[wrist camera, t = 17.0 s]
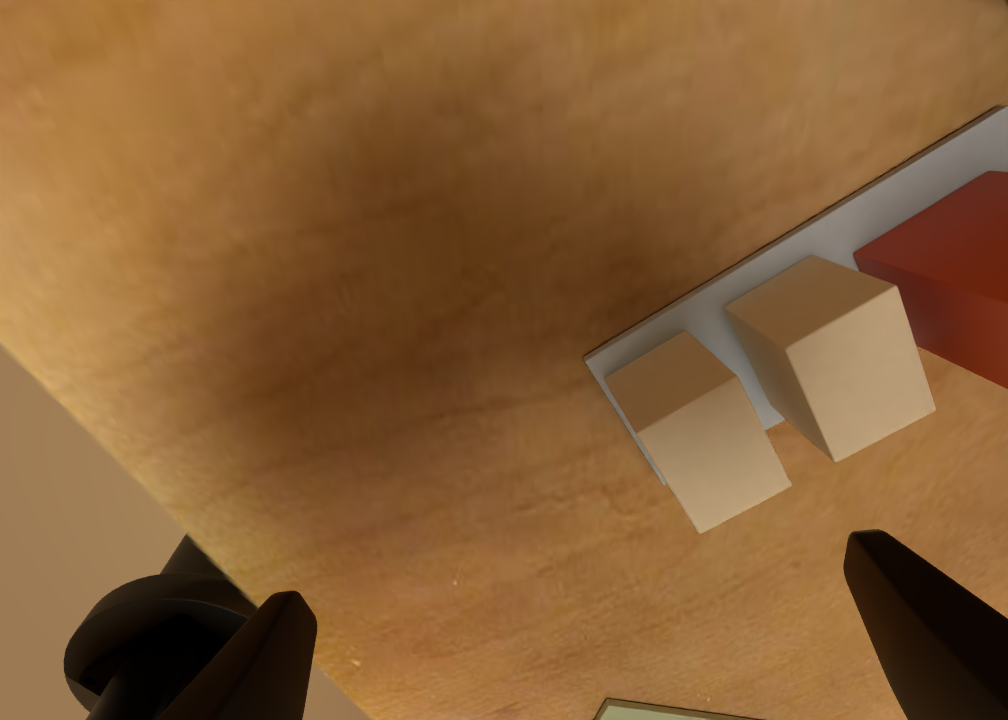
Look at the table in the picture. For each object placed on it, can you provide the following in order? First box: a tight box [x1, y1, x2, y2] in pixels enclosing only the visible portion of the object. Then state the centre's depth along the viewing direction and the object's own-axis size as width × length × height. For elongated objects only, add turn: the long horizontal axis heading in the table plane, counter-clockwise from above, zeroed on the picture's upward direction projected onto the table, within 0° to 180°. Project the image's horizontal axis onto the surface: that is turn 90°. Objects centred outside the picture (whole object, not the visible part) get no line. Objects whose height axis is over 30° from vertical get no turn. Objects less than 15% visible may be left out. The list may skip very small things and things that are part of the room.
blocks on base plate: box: [583, 105, 1008, 534], centre depth 18 cm, size 16×7×4 cm, turn 123°
